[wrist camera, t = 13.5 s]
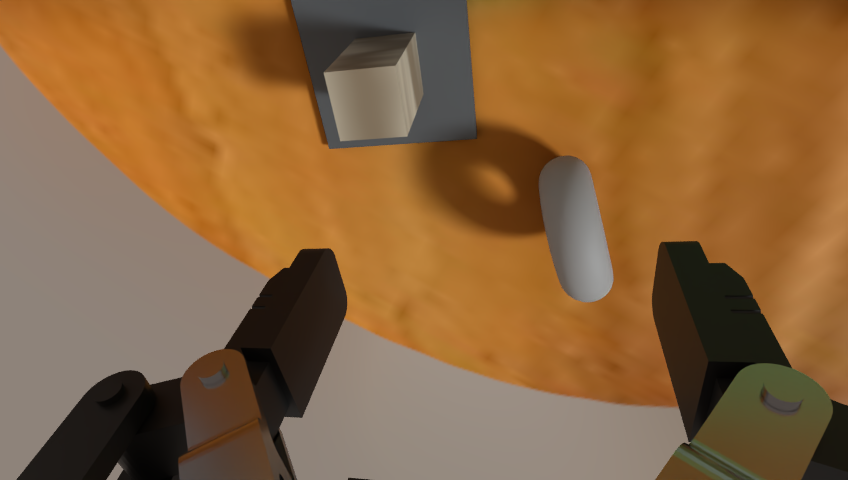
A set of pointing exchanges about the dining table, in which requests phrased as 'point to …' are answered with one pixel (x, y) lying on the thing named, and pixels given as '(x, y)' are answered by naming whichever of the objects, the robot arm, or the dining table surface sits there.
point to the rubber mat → (437, 49)
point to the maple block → (376, 87)
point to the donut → (575, 229)
